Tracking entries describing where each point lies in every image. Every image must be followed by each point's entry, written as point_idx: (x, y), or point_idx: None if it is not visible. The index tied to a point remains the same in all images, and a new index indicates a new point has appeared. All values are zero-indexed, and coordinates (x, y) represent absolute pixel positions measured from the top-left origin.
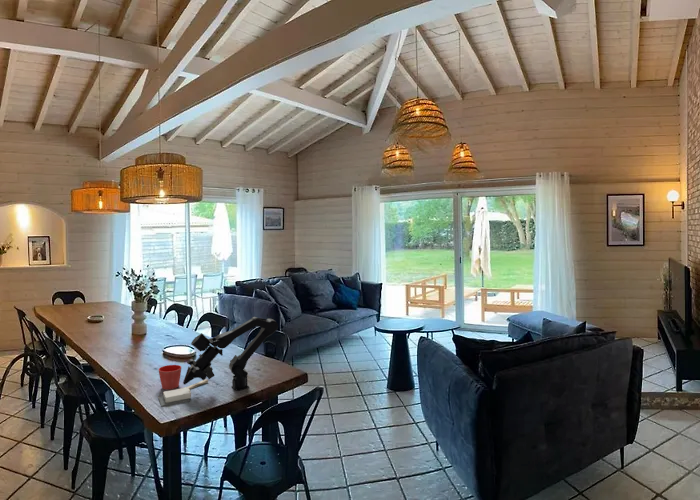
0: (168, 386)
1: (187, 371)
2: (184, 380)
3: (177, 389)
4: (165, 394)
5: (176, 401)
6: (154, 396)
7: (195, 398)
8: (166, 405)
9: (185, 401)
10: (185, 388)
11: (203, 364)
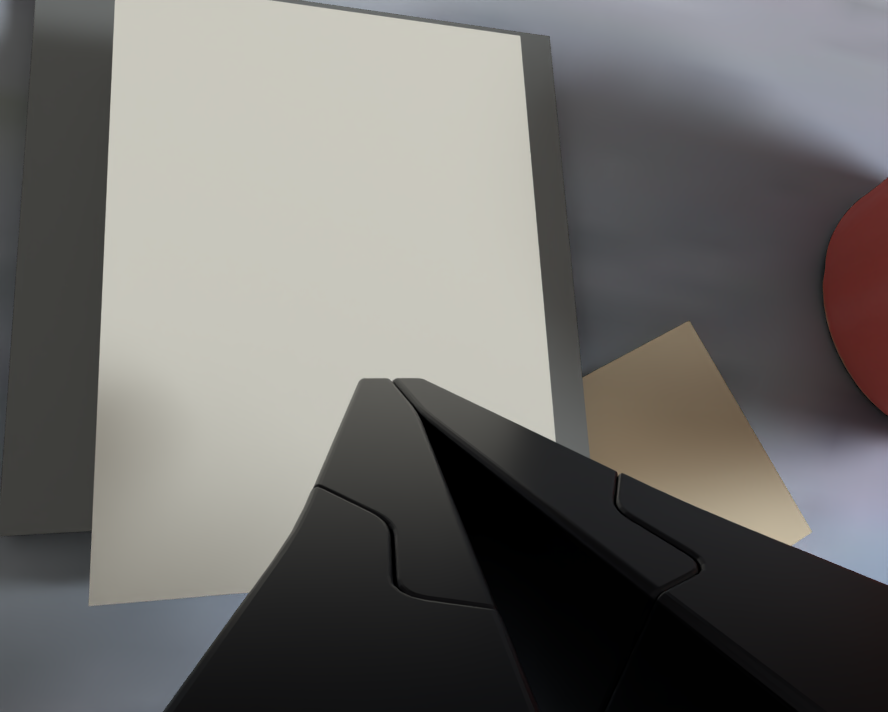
0: (860, 237)
1: (725, 598)
2: (379, 410)
3: (529, 312)
4: (337, 29)
5: (97, 254)
6: (622, 22)
7: (135, 692)
8: (37, 60)
9: (9, 439)
10: None
11: None
